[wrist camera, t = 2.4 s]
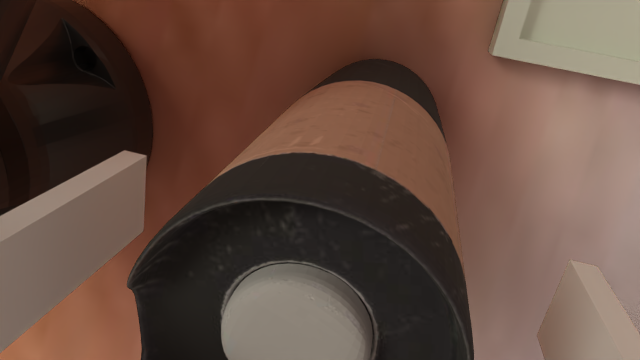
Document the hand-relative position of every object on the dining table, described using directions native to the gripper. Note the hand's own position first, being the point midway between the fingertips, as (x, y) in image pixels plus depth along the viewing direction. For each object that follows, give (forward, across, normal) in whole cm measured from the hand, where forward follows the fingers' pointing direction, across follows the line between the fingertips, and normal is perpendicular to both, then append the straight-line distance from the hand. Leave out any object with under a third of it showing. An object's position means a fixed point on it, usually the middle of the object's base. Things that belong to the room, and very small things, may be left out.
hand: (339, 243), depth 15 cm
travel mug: (+15, 0, 0) cm, 15 cm away
